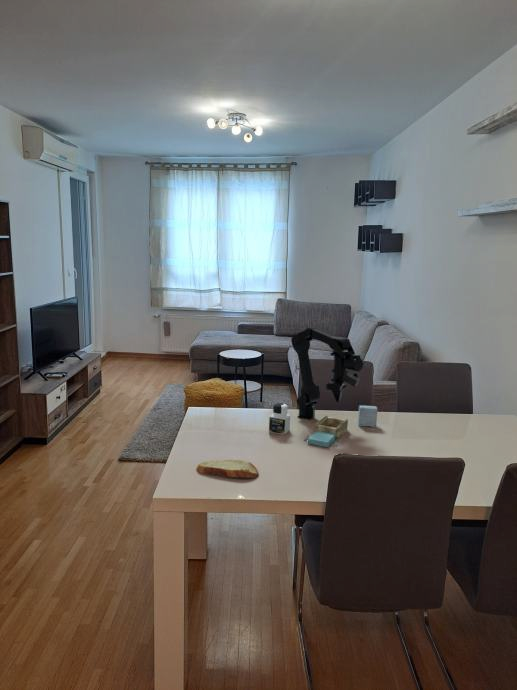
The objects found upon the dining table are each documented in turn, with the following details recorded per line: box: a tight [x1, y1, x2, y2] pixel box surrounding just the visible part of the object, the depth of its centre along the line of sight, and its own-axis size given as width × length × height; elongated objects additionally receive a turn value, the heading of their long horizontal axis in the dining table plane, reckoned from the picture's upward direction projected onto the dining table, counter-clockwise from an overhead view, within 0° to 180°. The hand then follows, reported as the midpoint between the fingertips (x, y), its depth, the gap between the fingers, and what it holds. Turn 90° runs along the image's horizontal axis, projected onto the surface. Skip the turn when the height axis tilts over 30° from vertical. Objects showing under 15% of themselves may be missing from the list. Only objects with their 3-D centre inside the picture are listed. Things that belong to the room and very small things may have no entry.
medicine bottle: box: [268, 402, 291, 435], centre depth 224 cm, size 7×7×12 cm
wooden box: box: [314, 415, 349, 440], centre depth 225 cm, size 10×14×5 cm
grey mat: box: [303, 435, 341, 447], centre depth 214 cm, size 14×5×1 cm, turn 65°
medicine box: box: [357, 405, 378, 428], centre depth 236 cm, size 8×4×9 cm, turn 84°
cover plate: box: [307, 431, 336, 448], centre depth 214 cm, size 8×11×2 cm
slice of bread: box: [195, 459, 260, 480], centre depth 181 cm, size 18×18×4 cm
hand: (337, 401), depth 229 cm, fingers closed
